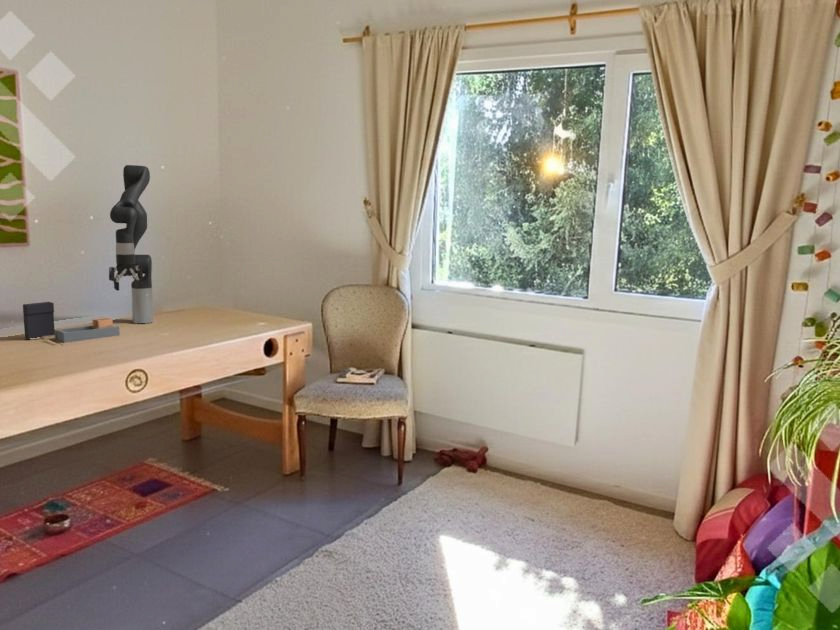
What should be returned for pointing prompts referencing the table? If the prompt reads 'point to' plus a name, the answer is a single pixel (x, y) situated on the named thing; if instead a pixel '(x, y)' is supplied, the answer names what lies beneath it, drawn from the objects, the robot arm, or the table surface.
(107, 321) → the block
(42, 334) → the dark grey upright box
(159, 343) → the table surface
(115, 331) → the chute
